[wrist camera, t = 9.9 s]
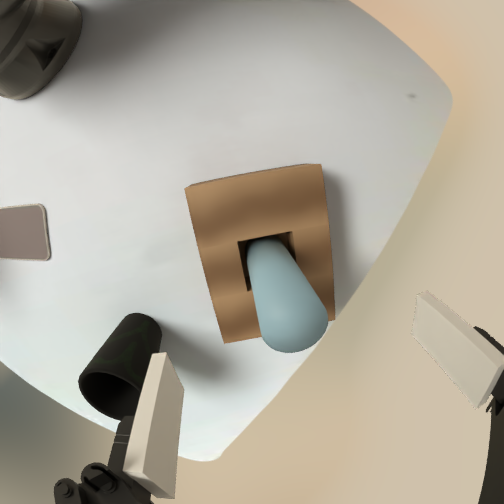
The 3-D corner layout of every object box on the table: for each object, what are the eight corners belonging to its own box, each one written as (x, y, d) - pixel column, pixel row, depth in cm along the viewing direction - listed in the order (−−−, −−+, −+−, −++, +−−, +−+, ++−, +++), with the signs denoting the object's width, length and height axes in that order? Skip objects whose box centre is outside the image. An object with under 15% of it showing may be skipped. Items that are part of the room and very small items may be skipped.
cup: (154, 298, 31) (124, 364, 20) (179, 348, 33) (165, 419, 22) (104, 313, 31) (64, 373, 20) (130, 358, 34) (105, 423, 22)
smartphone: (50, 261, 28) (-15, 258, 26) (53, 259, 29) (-11, 256, 27) (42, 203, 26) (-22, 210, 24) (46, 202, 26) (-18, 209, 25)
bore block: (191, 184, 27) (184, 188, 23) (305, 163, 28) (321, 164, 23) (224, 318, 32) (224, 343, 28) (321, 298, 33) (335, 319, 28)
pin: (241, 235, 28) (254, 303, 15) (280, 228, 28) (326, 288, 15) (248, 272, 29) (266, 358, 16) (285, 264, 29) (329, 343, 16)
